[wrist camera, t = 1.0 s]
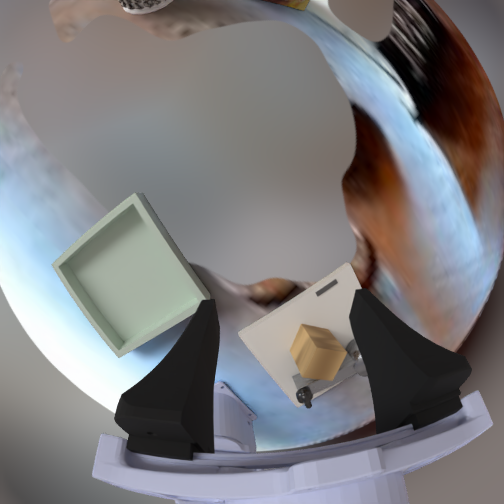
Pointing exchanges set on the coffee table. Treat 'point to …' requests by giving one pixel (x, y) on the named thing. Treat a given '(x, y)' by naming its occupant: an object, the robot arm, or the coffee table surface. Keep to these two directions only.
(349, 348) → the crank
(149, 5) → the patterned cylinder
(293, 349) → the block
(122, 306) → the tray
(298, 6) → the candy box
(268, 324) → the board
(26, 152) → the coffee table surface
